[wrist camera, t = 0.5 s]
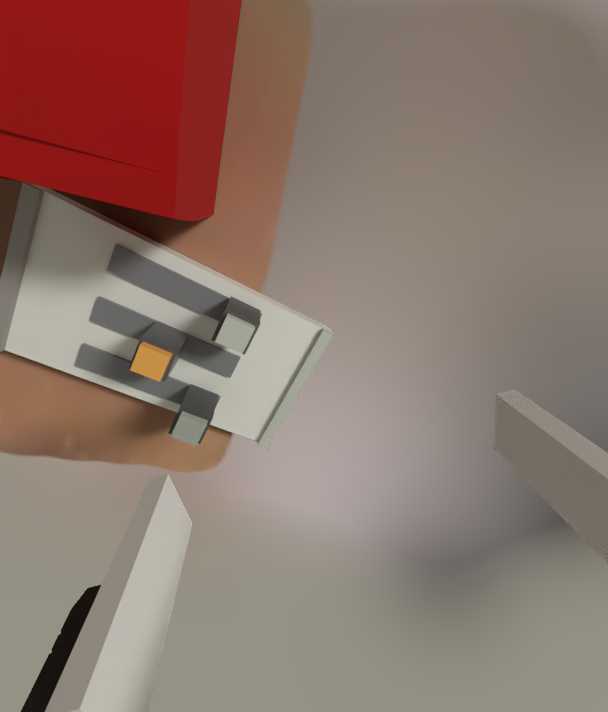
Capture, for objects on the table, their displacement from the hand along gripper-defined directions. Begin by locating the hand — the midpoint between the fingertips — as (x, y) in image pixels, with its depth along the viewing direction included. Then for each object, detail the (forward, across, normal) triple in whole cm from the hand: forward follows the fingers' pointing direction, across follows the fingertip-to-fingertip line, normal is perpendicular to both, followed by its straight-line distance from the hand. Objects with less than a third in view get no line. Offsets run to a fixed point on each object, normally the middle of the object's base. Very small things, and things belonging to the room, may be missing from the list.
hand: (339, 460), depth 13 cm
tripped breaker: (+20, -12, +1) cm, 24 cm away
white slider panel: (+23, -12, +1) cm, 26 cm away
